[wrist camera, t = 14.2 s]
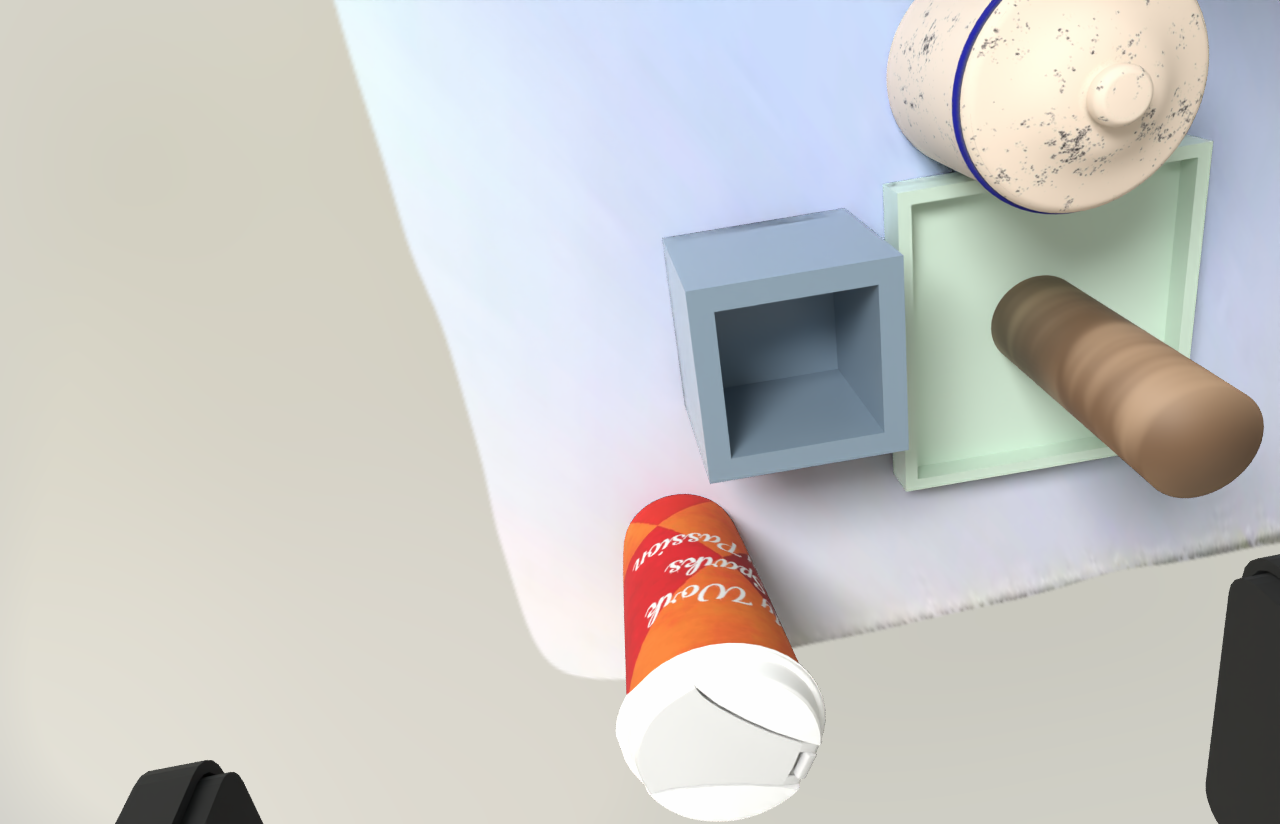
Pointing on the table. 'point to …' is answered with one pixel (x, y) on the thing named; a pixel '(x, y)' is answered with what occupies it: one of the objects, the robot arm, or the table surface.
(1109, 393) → the peg
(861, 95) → the table surface
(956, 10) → the teacup with lid
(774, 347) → the deep square box
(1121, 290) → the tray
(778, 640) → the coffee cup
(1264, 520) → the table surface
